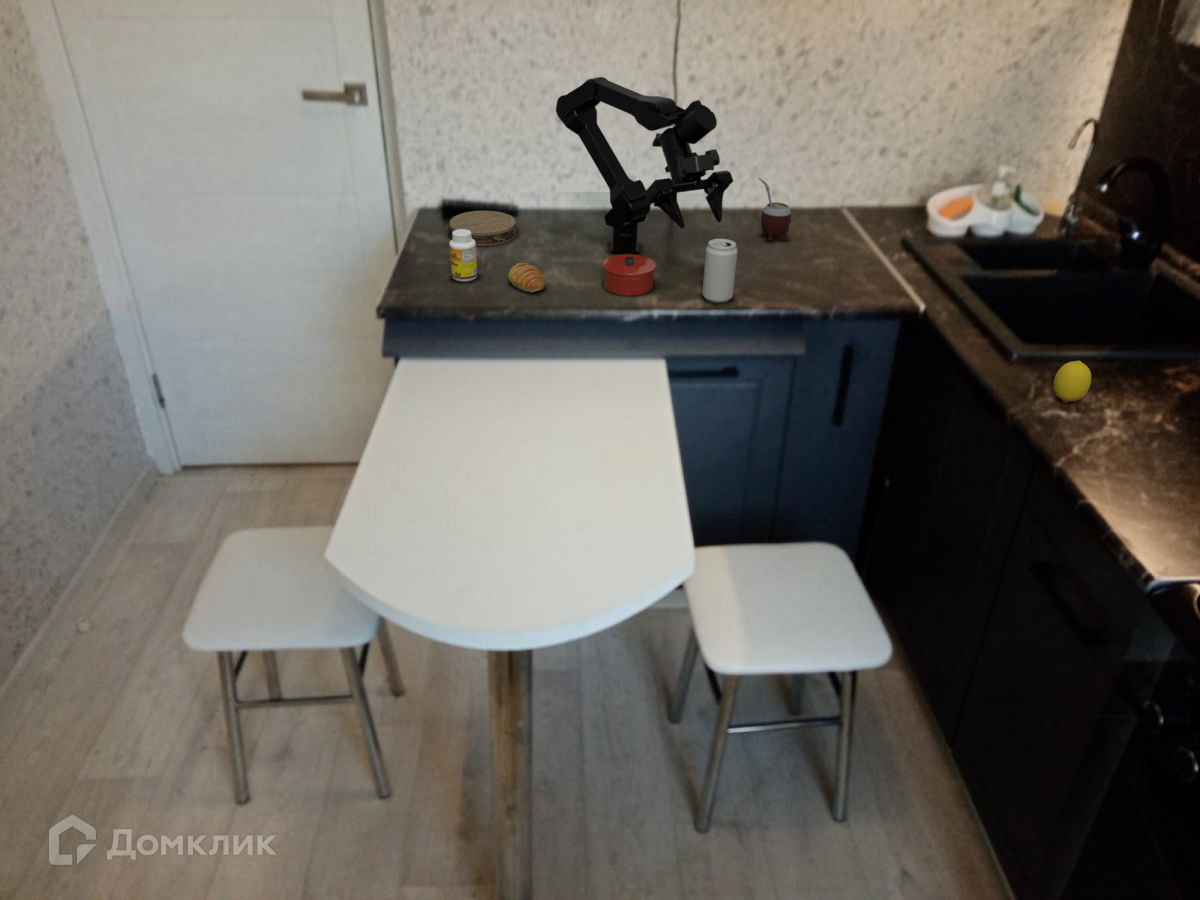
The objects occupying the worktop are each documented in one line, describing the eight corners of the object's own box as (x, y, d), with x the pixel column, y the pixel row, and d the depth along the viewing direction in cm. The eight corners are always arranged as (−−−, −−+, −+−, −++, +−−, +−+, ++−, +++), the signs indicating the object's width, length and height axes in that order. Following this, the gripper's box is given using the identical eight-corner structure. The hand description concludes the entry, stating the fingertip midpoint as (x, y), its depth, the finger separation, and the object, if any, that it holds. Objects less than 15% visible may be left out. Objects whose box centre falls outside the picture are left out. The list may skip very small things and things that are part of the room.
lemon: (1041, 394, 160) (1055, 353, 155) (1072, 393, 160) (1086, 353, 156) (1057, 410, 155) (1072, 369, 150) (1088, 410, 155) (1104, 368, 151)
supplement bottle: (448, 274, 199) (445, 229, 193) (473, 271, 201) (470, 226, 195) (456, 284, 194) (452, 238, 189) (481, 280, 196) (478, 234, 191)
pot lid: (597, 260, 197) (597, 251, 196) (646, 256, 199) (647, 247, 198) (610, 280, 188) (611, 270, 187) (662, 276, 190) (663, 266, 189)
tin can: (480, 217, 229) (480, 206, 228) (529, 232, 222) (529, 220, 220) (436, 235, 218) (435, 223, 217) (485, 250, 211) (485, 238, 209)
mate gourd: (792, 236, 223) (801, 175, 214) (779, 246, 217) (788, 183, 209) (764, 230, 226) (771, 169, 218) (750, 239, 220) (758, 177, 212)
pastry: (553, 290, 193) (553, 273, 191) (525, 297, 190) (524, 280, 188) (532, 275, 199) (532, 258, 197) (505, 281, 196) (504, 264, 194)
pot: (599, 278, 199) (599, 258, 196) (644, 274, 201) (645, 255, 199) (611, 297, 190) (612, 277, 188) (659, 293, 193) (660, 273, 190)
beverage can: (731, 305, 188) (737, 250, 181) (700, 302, 189) (705, 247, 182) (733, 293, 193) (739, 239, 187) (703, 290, 194) (708, 236, 188)
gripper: (656, 140, 180) (681, 213, 179) (734, 131, 188) (758, 201, 186) (634, 167, 190) (657, 237, 189) (708, 158, 198) (731, 225, 196)
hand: (701, 224), depth 190 cm, fingers open, 9 cm apart
